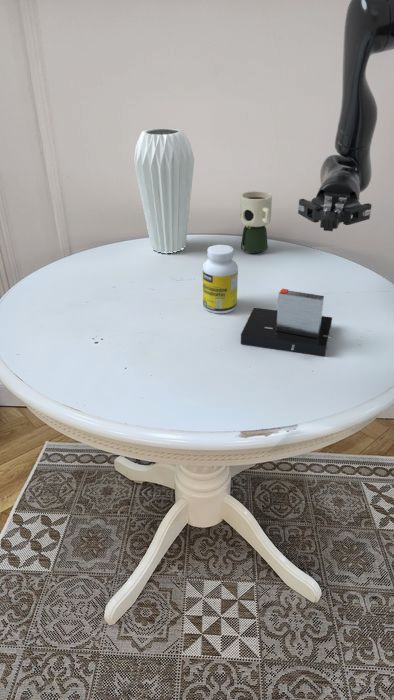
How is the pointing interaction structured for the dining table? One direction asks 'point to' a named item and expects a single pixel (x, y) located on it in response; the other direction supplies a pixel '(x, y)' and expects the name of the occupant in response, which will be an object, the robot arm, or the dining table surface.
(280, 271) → the dining table surface
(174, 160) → the vase
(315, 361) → the dining table surface
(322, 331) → the black base plate
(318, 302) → the grey battery block
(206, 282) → the pill bottle
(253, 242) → the character mug
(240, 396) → the dining table surface
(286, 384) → the dining table surface
